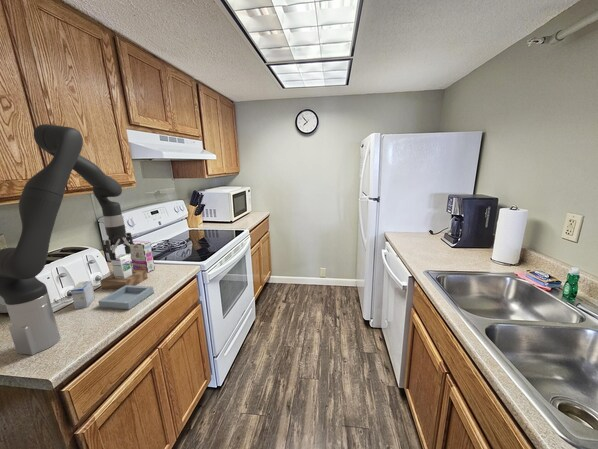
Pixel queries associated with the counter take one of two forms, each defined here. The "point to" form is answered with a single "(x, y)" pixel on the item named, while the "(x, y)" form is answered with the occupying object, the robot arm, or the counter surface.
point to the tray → (126, 297)
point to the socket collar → (123, 280)
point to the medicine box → (82, 294)
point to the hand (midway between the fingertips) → (121, 256)
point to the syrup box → (122, 266)
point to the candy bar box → (142, 256)
